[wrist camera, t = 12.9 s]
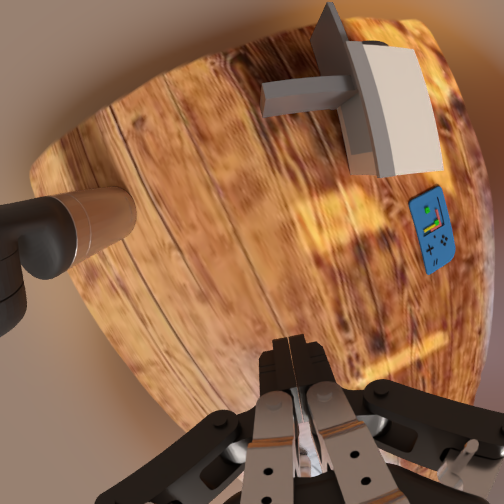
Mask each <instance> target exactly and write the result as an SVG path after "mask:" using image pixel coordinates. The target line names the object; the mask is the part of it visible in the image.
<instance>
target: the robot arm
mask: <svg viewBox="0 0 504 504" xmlns="http://www.w3.org/2000/svg"><path fill="white" fill-rule="evenodd" d="M135 222H136V207H135V204H134V201H133V199H132V198H131V196H130V195H129V194H128V193H127V192H126V191H125V190H123V189H121V188H119V187H114V186H113V187H104V188H95V189H87V190H80V191H73V192H67V193H60V194H55V195H49V196H44V197H39V198H34V199H30V200H25V201H20V202H15V203H10V204H4V205H0V337H1V336H3V335H4V334H6V333H7V332H9V331H10V330H11V329H13V328H14V327H15V326H16V325H17V324H18V323H19V322H20V320H21V319H22V318H23V316H24V314H25V312H26V308H27V299H26V291H25V286H24V281H23V275H22V269H21V265H22V266H23V267H24V268H25V270H26V271H28V273H30V274H31V275H32V276H34V277H36V278H38V279H42V280H48V279H52V278H54V277H57V276H58V275H60V274H62V273H63V272H65V271H67V270H68V269H70V268H72V267H73V266H75V265H77V264H78V263H80V262H82V261H84V260H85V259H87V258H89V257H91V256H92V255H94V254H96V253H98V252H99V251H101V250H103V249H105V248H107V247H109V246H110V245H112V244H114V243H116V242H118V241H120V240H122V239H123V238H125V237H127V236H128V235H129V234H130V233H131V231H132V230H133V228H134V225H135ZM288 338H289V344H290V349H289V344H288V339H287V337H285V338H279V339H274V340H272V343H273V350H271V351H265V352H263V353H262V354H261V356H260V358H259V381H260V398H259V399H258V400H257V403H256V405H255V406H254V407H253V408H252V409H250V410H248V411H246V412H243V413H241V414H238V415H236V414H235V413H234V412H232V411H229V410H218V411H215V412H212V413H211V414H209V415H208V416H206V417H205V418H204V419H203V420H202V421H201V422H199V423H198V424H197V425H196V426H195V427H193V428H192V429H191V430H190V431H189V432H187V433H186V434H185V435H184V436H182V437H181V438H180V439H179V440H178V441H176V442H175V443H174V444H172V445H171V446H170V447H168V448H167V449H166V450H164V451H163V452H162V453H160V454H159V455H158V456H156V457H155V458H154V459H152V460H151V461H150V462H148V463H147V464H146V465H144V466H143V467H141V468H140V469H138V470H137V471H136V472H134V473H133V474H131V475H130V476H128V477H127V478H125V479H124V480H122V481H121V482H119V483H118V484H116V485H115V486H113V487H111V488H110V489H108V490H107V491H105V492H103V493H102V494H100V495H99V496H98V497H97V499H96V501H95V504H209V503H210V502H211V501H212V500H213V499H214V498H215V497H216V496H218V495H219V494H220V493H221V492H222V491H223V490H224V489H225V488H226V487H227V486H228V485H229V484H230V483H232V481H234V480H235V479H236V478H237V477H238V476H239V475H240V474H241V473H242V472H243V471H244V478H243V487H242V491H240V492H238V493H236V494H235V495H233V496H232V497H230V498H229V499H228V500H227V501H226V502H224V503H223V504H489V502H488V501H487V500H486V499H487V496H488V494H489V492H490V490H491V488H492V486H493V483H494V481H495V479H496V476H497V474H498V472H499V469H500V466H501V464H502V461H503V458H504V413H499V412H495V411H491V410H487V409H483V408H479V407H475V406H471V405H468V404H464V403H460V402H457V401H453V400H450V399H446V398H443V397H439V396H436V395H433V394H430V393H426V392H423V391H420V390H417V389H414V388H411V387H408V386H405V385H402V384H399V383H396V382H393V381H391V380H386V379H380V380H375V381H373V382H371V383H369V384H368V385H367V386H366V387H365V389H364V390H347V389H344V388H342V387H340V385H338V384H337V383H336V381H335V378H334V375H333V373H332V370H331V367H330V365H329V362H328V360H327V357H326V355H325V351H324V349H323V346H321V345H320V344H319V343H317V342H311V343H306V341H305V338H304V334H300V335H295V336H290V337H288ZM290 350H291V354H290ZM291 356H292V359H291ZM292 362H293V364H292ZM293 367H294V369H293ZM294 373H295V374H294ZM295 378H296V379H295ZM296 383H297V384H296ZM297 388H298V390H297ZM298 393H299V396H298ZM299 398H300V403H299ZM300 404H301V409H302V414H303V419H304V422H308V421H309V424H310V429H311V436H312V440H313V443H314V446H315V449H316V453H317V456H318V459H319V462H320V466H321V469H322V474H320V475H318V476H315V477H301V473H300V451H299V426H298V423H302V416H301V409H300ZM378 448H380V449H382V450H384V451H386V452H389V453H391V454H393V455H396V456H398V457H400V458H403V459H405V460H408V461H410V462H413V463H415V464H418V465H421V466H423V467H426V468H429V469H432V470H434V471H437V472H438V473H437V476H438V479H439V481H440V482H441V483H442V484H441V483H439V482H436V481H434V480H431V479H429V478H426V477H424V476H421V475H419V474H417V473H414V472H412V471H410V470H408V469H405V468H403V467H401V466H398V465H395V464H390V463H385V461H384V459H383V457H382V455H381V453H380V451H379V449H378Z"/></svg>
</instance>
